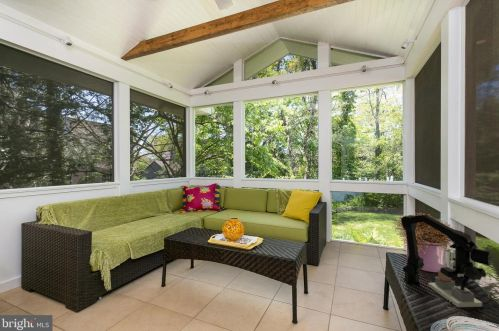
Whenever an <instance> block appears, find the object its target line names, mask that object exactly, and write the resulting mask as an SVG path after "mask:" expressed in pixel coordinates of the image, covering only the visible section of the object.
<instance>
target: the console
mask: <svg viewBox="0 0 499 331" xmlns="http://www.w3.org/2000/svg"><path fill="white" fill-rule="evenodd" d="M427 284H428V287H429V288H430V289H432V290H433V291H435V292H436V293H437V294H439V295H440V296H441V297H442V298H444V299H445V300H447V301H448V300H449V302H450V303H451V302H452V303H451V304H452V305H454V306H455V307H457V308H476V307H477V308H478V307H479V308H481V307H483V302H482V301H480V300H479V299H477V298H475V293H473V292H472V291H470V293H461V292H459V291H458V290H456V289H455V286H456V283H455V280H452V279H451V282H444V281H442V280H441V279H439V278H438V276H434V282H428V283H427Z"/></svg>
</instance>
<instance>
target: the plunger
mask: <svg viewBox="0 0 499 331" xmlns="http://www.w3.org/2000/svg"><path fill="white" fill-rule="evenodd" d="M455 289H456V290H458V291H459V292H461V293H470V292H471V290H470V288H469V289H468V288H467V287H465V288H464V289H462V288H461V287H460V285H459V286H458V285H457V286H456V285H455Z"/></svg>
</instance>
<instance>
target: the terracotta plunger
mask: <svg viewBox="0 0 499 331" xmlns="http://www.w3.org/2000/svg"><path fill="white" fill-rule="evenodd" d="M437 277H438V278H439V279H441V280H442V281H444V282H451V280H452V278H449V277H447V276H446V275H444V274H442V273H441V272H440V269H439V270H438V269H437Z"/></svg>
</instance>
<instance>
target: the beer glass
mask: <svg viewBox="0 0 499 331" xmlns="http://www.w3.org/2000/svg"><path fill="white" fill-rule="evenodd" d="M453 258H455V249H445V263H446V267H449V268H450V269H452V270H455V268H453V266H455V261H454V260H453Z"/></svg>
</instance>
